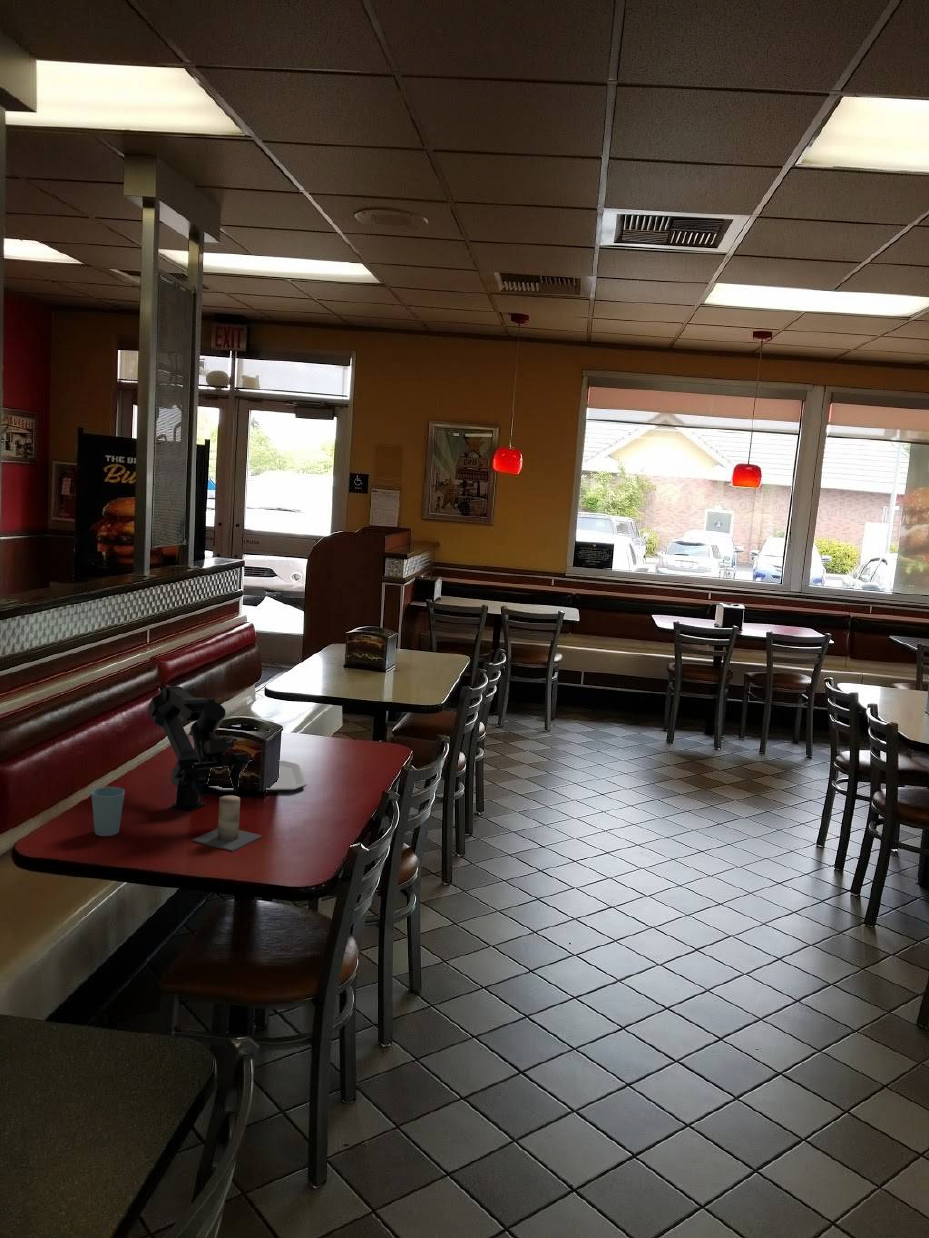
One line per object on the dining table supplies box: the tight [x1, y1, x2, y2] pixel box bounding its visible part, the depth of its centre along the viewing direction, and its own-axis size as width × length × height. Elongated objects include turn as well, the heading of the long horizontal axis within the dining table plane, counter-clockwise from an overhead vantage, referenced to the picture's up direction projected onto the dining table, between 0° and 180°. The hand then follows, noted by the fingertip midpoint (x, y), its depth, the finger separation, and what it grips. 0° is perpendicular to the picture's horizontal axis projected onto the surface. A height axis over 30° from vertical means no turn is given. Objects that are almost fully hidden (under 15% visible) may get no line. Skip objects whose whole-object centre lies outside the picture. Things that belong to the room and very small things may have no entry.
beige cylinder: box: [217, 795, 241, 841], centre depth 235 cm, size 5×5×10 cm
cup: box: [90, 786, 126, 837], centre depth 234 cm, size 8×8×10 cm
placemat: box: [192, 828, 263, 853], centre depth 236 cm, size 12×12×1 cm
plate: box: [208, 760, 307, 793], centre depth 285 cm, size 29×29×2 cm
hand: (219, 794), depth 240 cm, fingers open, 9 cm apart
